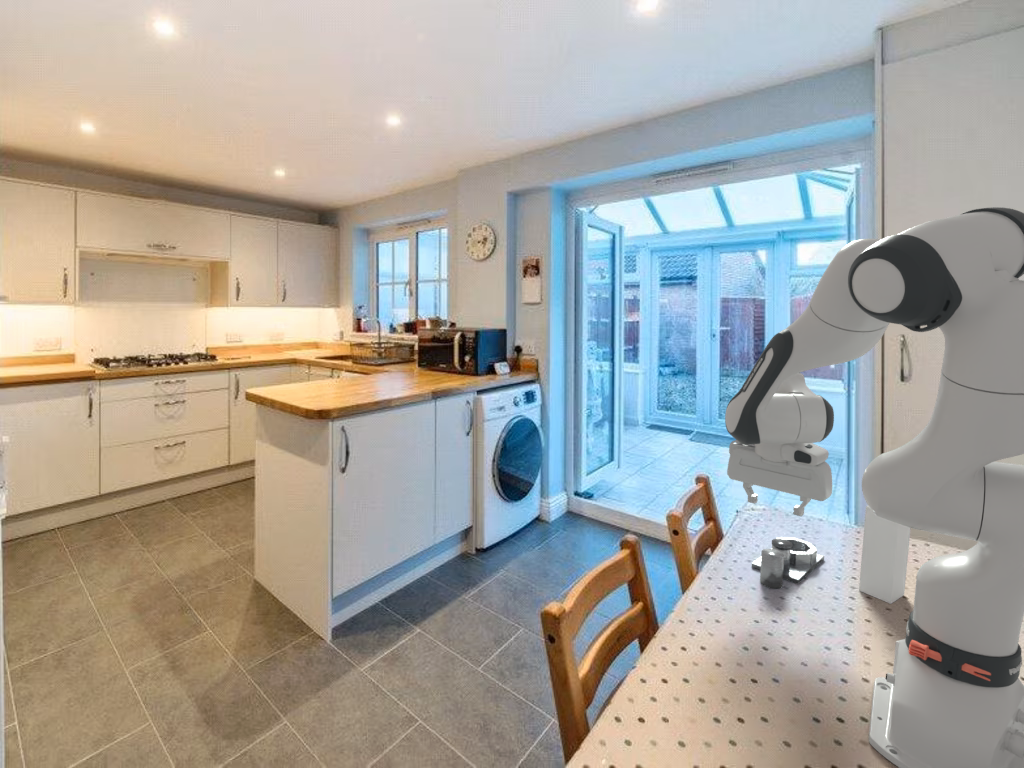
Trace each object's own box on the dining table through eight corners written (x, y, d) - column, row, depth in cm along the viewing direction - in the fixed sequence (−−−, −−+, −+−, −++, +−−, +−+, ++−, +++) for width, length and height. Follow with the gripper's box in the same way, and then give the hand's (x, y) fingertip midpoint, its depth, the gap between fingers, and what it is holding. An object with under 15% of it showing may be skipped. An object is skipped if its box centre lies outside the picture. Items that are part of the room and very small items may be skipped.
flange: (797, 583, 109) (799, 555, 108) (751, 566, 117) (753, 540, 116) (823, 559, 119) (825, 533, 118) (779, 545, 127) (781, 520, 126)
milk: (858, 591, 106) (865, 491, 103) (872, 582, 109) (879, 485, 106) (891, 604, 101) (900, 500, 98) (905, 595, 104) (914, 494, 101)
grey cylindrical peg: (777, 591, 106) (779, 560, 105) (756, 583, 110) (758, 553, 109) (785, 583, 109) (787, 553, 108) (765, 576, 113) (766, 546, 112)
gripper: (723, 440, 111) (720, 499, 113) (826, 459, 96) (821, 527, 98) (736, 435, 115) (734, 492, 117) (837, 452, 100) (832, 518, 102)
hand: (774, 508), depth 107 cm, fingers open, 8 cm apart
